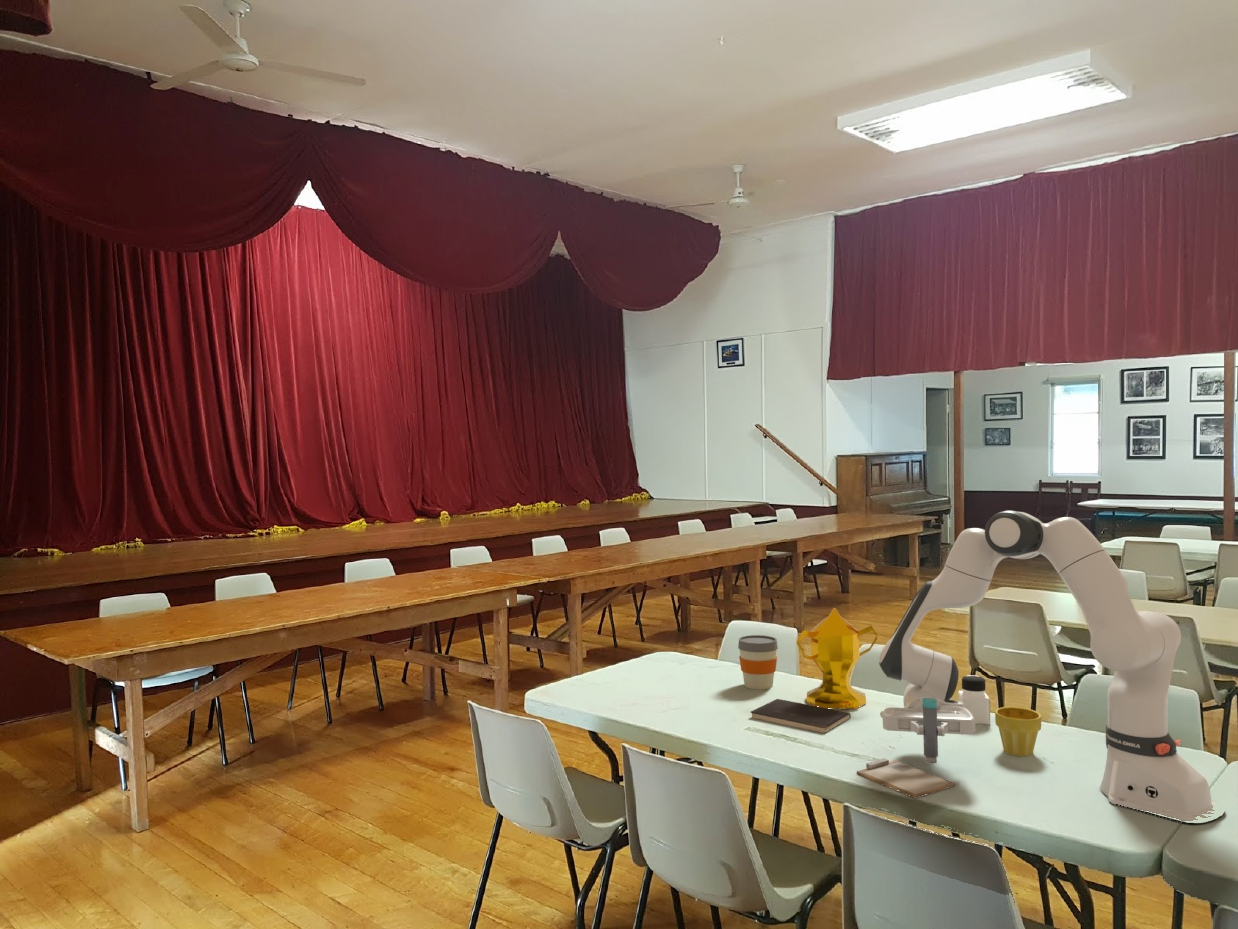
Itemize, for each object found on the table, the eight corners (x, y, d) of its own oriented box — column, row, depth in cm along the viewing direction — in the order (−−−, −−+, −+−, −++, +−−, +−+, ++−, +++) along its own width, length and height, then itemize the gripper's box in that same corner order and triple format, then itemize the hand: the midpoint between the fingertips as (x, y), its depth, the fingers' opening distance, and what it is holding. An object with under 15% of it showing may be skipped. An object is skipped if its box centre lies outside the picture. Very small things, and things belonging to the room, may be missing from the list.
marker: (941, 762, 193) (939, 700, 193) (932, 765, 191) (930, 702, 191) (930, 758, 196) (928, 697, 195) (920, 761, 194) (919, 699, 194)
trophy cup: (888, 708, 250) (886, 612, 249) (805, 712, 248) (803, 615, 247) (866, 691, 267) (865, 602, 266) (789, 695, 265) (787, 604, 265)
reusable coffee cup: (784, 683, 278) (783, 637, 278) (769, 693, 268) (768, 645, 267) (748, 678, 285) (747, 633, 285) (732, 688, 274) (731, 641, 274)
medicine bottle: (990, 724, 234) (990, 680, 234) (962, 723, 235) (962, 680, 235) (984, 716, 241) (984, 674, 240) (957, 715, 242) (957, 673, 242)
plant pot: (1039, 762, 206) (1038, 721, 206) (992, 755, 211) (992, 715, 211) (1043, 749, 215) (1043, 710, 214) (999, 742, 220) (998, 704, 220)
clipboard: (955, 785, 193) (954, 778, 193) (914, 798, 186) (914, 791, 186) (894, 762, 208) (894, 755, 208) (855, 773, 201) (855, 766, 201)
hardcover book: (825, 735, 229) (825, 727, 229) (750, 719, 244) (750, 711, 244) (850, 720, 242) (850, 712, 242) (778, 705, 256) (778, 698, 256)
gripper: (879, 698, 209) (881, 715, 195) (969, 702, 203) (978, 720, 190) (880, 724, 209) (882, 743, 195) (970, 728, 203) (979, 748, 190)
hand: (930, 732), depth 193 cm, fingers closed on marker, 3 cm apart
